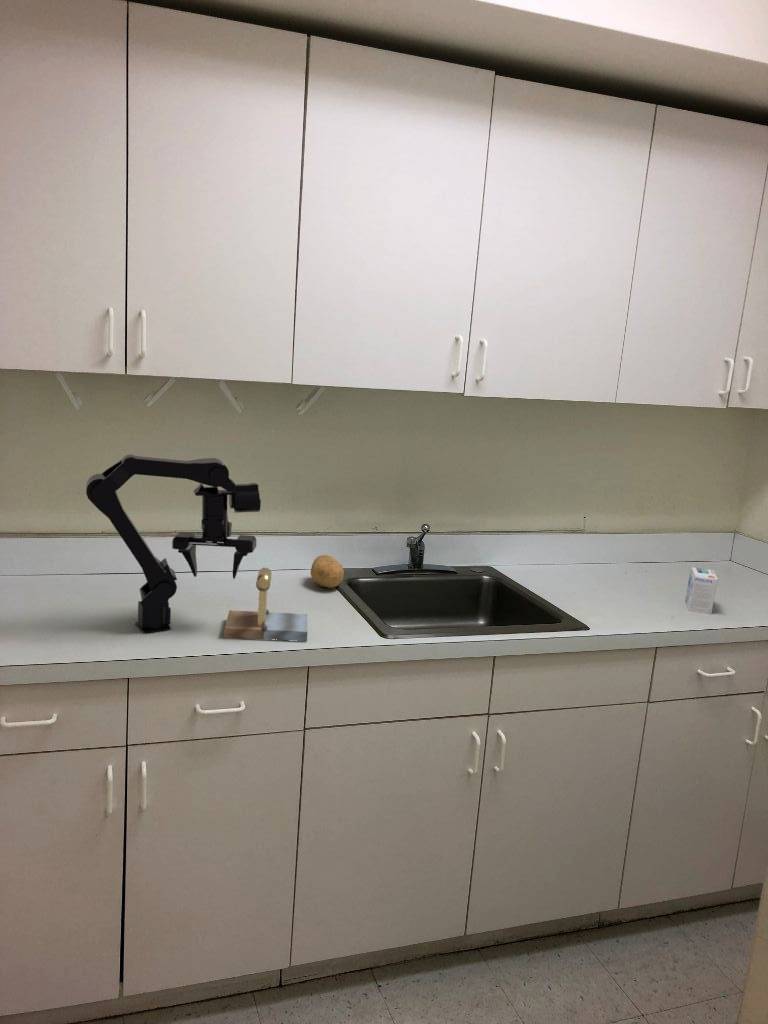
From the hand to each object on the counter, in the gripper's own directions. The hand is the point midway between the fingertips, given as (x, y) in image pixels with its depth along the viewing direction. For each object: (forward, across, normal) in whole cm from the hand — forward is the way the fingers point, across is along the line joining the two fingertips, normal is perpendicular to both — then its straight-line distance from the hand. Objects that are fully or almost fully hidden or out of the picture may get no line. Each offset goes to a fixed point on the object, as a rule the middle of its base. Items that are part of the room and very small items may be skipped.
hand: (214, 577), depth 192 cm
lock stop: (+10, -12, +1) cm, 16 cm away
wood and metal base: (+12, -12, +1) cm, 17 cm away
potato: (+14, -24, -37) cm, 46 cm away
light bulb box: (+18, -134, -48) cm, 143 cm away
